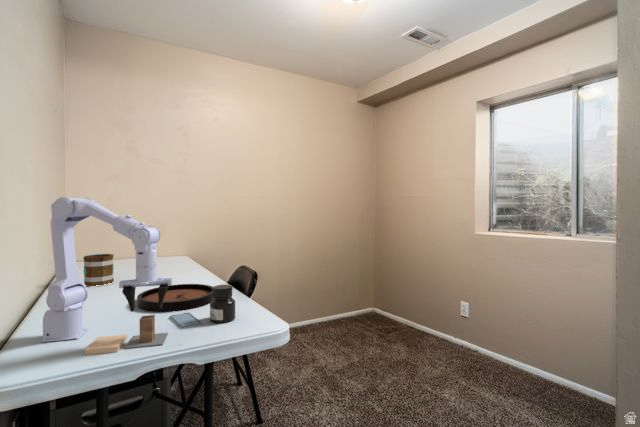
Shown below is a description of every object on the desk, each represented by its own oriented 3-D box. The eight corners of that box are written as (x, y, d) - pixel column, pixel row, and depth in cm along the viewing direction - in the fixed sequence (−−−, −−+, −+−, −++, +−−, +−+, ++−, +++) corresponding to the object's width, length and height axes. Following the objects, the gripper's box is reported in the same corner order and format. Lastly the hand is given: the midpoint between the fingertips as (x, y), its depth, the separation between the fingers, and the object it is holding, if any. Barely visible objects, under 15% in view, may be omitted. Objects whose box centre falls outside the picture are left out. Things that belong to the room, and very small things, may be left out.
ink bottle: (206, 318, 121) (206, 285, 121) (229, 313, 127) (229, 282, 127) (215, 325, 114) (215, 291, 113) (239, 320, 119) (239, 287, 119)
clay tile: (97, 343, 100) (85, 356, 91) (97, 337, 100) (84, 349, 91) (127, 340, 102) (117, 353, 93) (127, 334, 102) (117, 346, 93)
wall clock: (145, 286, 154) (215, 281, 164) (145, 295, 154) (215, 290, 164) (128, 305, 124) (215, 298, 134) (128, 316, 124) (215, 308, 134)
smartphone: (181, 328, 110) (168, 316, 122) (181, 330, 111) (168, 318, 122) (203, 323, 115) (188, 312, 127) (203, 325, 115) (188, 314, 127)
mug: (117, 283, 174) (117, 255, 174) (86, 288, 165) (86, 258, 164) (107, 278, 188) (107, 252, 188) (78, 282, 178) (78, 254, 178)
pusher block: (142, 338, 102) (142, 315, 102) (154, 337, 103) (154, 315, 102) (139, 342, 98) (139, 319, 98) (152, 341, 99) (152, 318, 99)
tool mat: (124, 349, 95) (124, 347, 95) (133, 337, 104) (133, 335, 104) (162, 345, 98) (162, 343, 98) (167, 333, 106) (167, 332, 106)
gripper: (115, 269, 96) (115, 315, 96) (169, 267, 100) (169, 311, 100) (122, 265, 102) (123, 308, 103) (173, 263, 106) (173, 304, 107)
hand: (146, 309), depth 102 cm, fingers open, 7 cm apart
